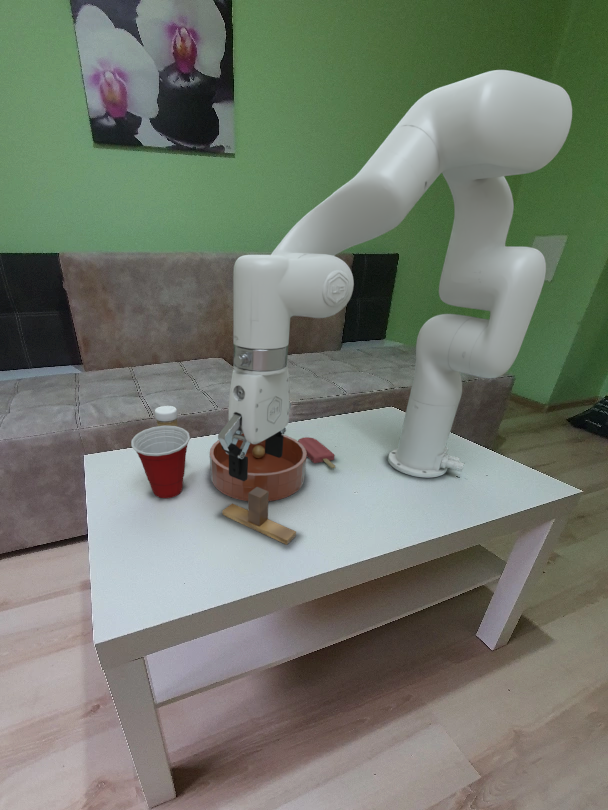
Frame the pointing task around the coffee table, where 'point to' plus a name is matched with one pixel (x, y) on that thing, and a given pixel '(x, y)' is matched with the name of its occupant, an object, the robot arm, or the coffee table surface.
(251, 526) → the stirrer
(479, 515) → the coffee table surface
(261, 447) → the bead
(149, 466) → the plastic cup
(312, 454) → the popsicle
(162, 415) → the sprinkles bottle
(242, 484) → the bowl
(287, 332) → the robot arm
